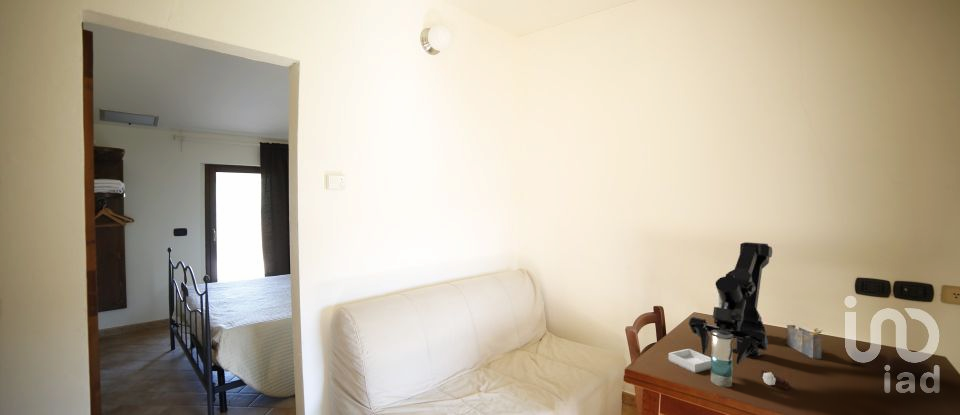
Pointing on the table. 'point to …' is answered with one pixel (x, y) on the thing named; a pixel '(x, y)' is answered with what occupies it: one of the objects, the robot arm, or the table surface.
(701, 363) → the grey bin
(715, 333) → the tin canister
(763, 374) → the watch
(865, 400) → the table surface
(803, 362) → the table surface
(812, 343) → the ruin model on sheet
